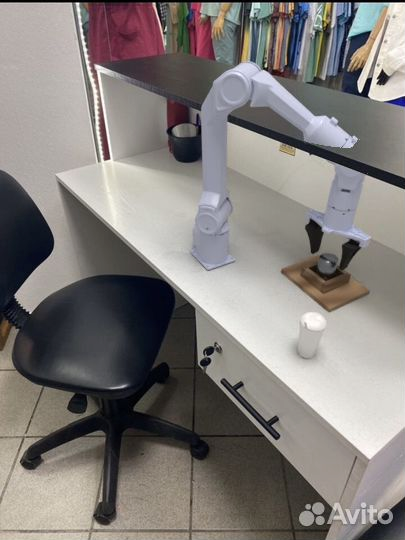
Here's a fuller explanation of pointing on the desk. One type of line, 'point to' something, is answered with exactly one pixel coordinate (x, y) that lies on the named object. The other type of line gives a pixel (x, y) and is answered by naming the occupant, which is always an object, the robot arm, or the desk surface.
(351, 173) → the robot arm
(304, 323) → the milkshake
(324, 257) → the pin
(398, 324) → the desk surface
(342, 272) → the socket board
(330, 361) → the desk surface
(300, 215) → the desk surface
